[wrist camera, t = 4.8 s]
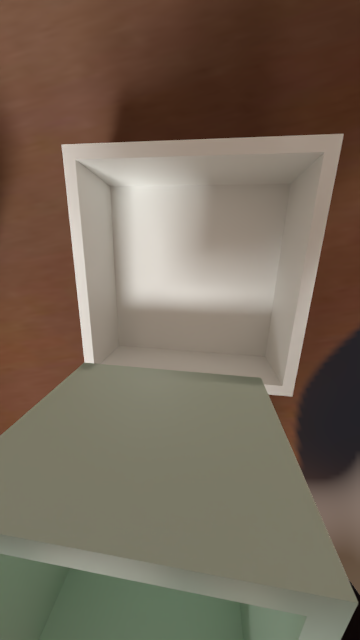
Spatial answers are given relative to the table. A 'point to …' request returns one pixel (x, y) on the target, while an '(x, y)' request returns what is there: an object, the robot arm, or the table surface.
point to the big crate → (199, 251)
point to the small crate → (161, 516)
